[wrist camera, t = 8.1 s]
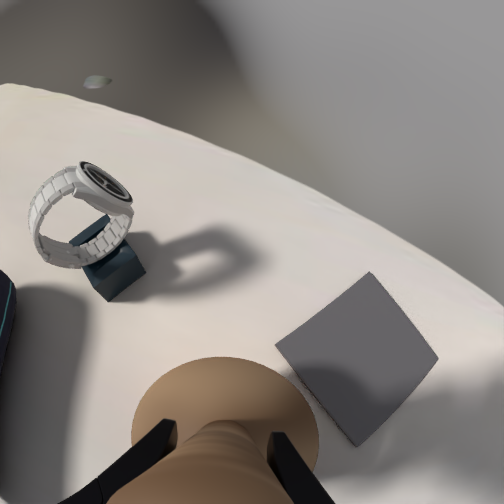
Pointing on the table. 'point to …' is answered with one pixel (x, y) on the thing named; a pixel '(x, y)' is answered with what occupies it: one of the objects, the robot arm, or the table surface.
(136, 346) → the table surface
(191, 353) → the table surface
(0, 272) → the portable speaker
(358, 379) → the mat
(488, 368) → the table surface
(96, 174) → the watch
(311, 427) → the lid
